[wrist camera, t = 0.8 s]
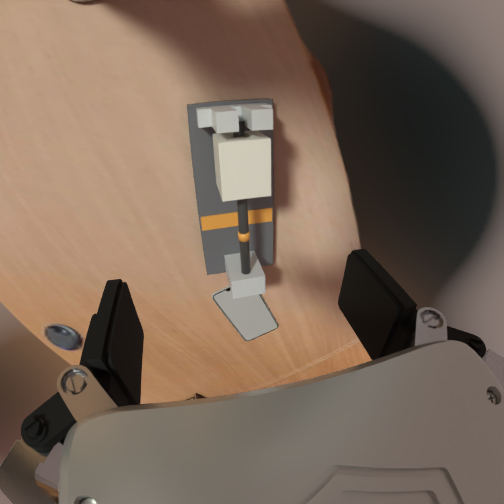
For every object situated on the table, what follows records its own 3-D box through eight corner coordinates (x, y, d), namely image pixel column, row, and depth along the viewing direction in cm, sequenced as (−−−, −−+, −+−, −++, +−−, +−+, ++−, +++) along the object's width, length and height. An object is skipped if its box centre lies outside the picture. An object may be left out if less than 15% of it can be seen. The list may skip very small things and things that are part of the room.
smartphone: (246, 342, 54) (209, 296, 46) (245, 340, 55) (209, 293, 46) (280, 327, 54) (250, 276, 45) (279, 324, 55) (250, 274, 46)
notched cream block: (212, 133, 29) (218, 143, 25) (256, 129, 30) (270, 138, 25) (216, 183, 33) (222, 201, 28) (257, 178, 33) (271, 195, 29)
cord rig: (187, 104, 30) (187, 109, 22) (269, 98, 31) (297, 103, 24) (206, 268, 43) (213, 312, 35) (270, 258, 45) (289, 299, 37)
